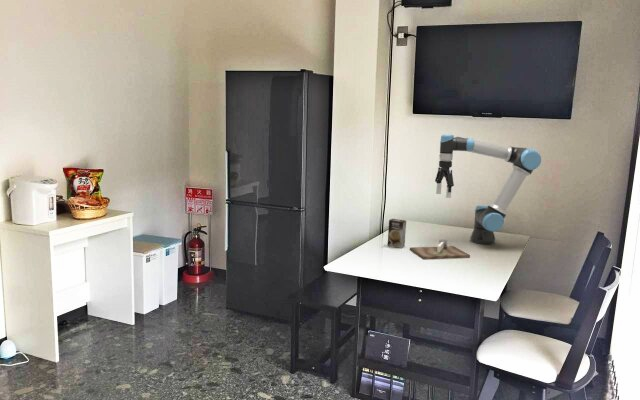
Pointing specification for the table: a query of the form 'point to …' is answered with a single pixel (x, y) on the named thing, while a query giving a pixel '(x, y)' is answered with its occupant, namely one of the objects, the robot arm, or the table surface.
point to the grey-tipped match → (442, 245)
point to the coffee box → (396, 233)
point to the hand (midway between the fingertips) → (443, 195)
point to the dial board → (444, 254)
